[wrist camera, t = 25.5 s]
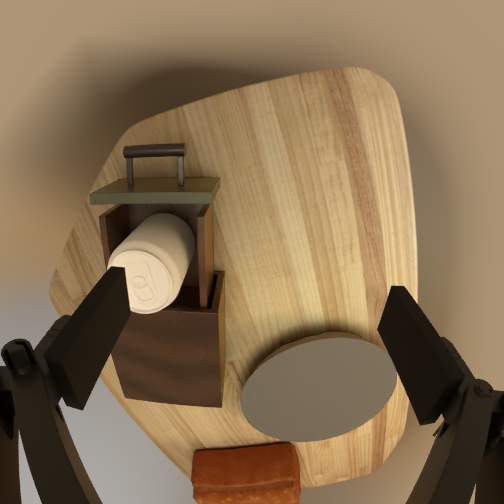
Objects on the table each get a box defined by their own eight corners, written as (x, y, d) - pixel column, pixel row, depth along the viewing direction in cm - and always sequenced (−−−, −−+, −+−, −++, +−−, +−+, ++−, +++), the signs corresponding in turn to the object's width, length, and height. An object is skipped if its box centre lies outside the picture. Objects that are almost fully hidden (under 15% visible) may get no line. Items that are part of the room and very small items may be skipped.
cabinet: (126, 267, 45) (98, 305, 35) (224, 271, 45) (218, 313, 35) (142, 353, 51) (124, 398, 41) (225, 359, 52) (221, 407, 42)
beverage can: (184, 203, 39) (159, 235, 28) (204, 260, 42) (190, 309, 31) (129, 221, 40) (90, 257, 29) (151, 274, 43) (122, 323, 32)
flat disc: (225, 336, 50) (223, 354, 45) (394, 305, 48) (404, 320, 44) (255, 433, 60) (255, 449, 56) (382, 409, 59) (387, 424, 54)
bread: (300, 469, 68) (306, 515, 54) (210, 477, 69) (207, 522, 56) (293, 437, 61) (300, 493, 48) (189, 447, 63) (182, 499, 49)
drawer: (117, 144, 37) (86, 151, 29) (220, 140, 37) (212, 144, 29) (130, 283, 45) (108, 316, 37) (220, 288, 45) (214, 324, 37)
